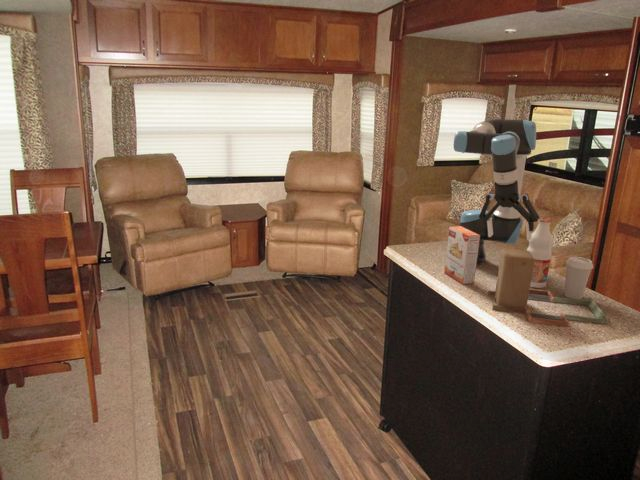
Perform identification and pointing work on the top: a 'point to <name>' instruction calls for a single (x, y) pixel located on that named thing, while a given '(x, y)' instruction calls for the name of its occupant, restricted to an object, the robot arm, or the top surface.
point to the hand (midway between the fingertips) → (509, 237)
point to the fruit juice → (541, 252)
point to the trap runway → (552, 319)
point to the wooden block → (514, 278)
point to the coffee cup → (577, 276)
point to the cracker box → (462, 254)
